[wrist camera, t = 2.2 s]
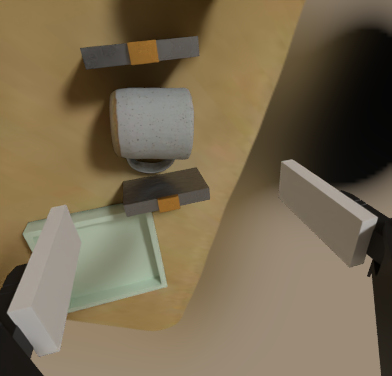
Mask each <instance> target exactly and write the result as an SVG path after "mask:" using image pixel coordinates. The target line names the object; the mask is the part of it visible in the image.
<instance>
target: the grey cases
mask: <svg viewBox="0 0 392 376" xmlns="http://www.w3.org/2000/svg"><path fill="white" fill-rule="evenodd" d="M80 49H81V53H82V57H83V60H84V64H85V67H86V69H94V68H103V67H111V66H120V65H128V64H131V65H137V64H146V63H154V62H159V61H162V60H171V59H179V58H188V57H196V56H199V44H198V36H192V37H182V38H172V39H162V40H148V41H138V42H129V43H124V44H114V45H105V46H95V47H86V48H80ZM209 199H210V193H209V187H208V185H207V184H206V182H205V180H204V179H203V177H202V175H201V174H200V172H199V171H198V169H197V168H191V169H186V170H181V171H176V172H170V173H165V174H160V175H155V176H150V177H144V178H139V179H134V180H129V181H123V204H124V209H125V213H126V216H127V217H130V216H134V215H139V214H144V213H148V212H153V211H158V210H159V211H160V213H162V212H166V211H171V210H175V209H180V206H181V205H186V204H190V203H195V202H200V201H204V200H209Z"/></svg>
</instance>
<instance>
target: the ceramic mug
mask: <svg viewBox="0 0 392 376" xmlns="http://www.w3.org/2000/svg"><path fill="white" fill-rule="evenodd" d="M110 125H111V136H112V143H113V148H114V152H115V153H116V154H117V155H118V156H120V157H124V158H126V159H127V162H128V163H129V165H130V166H131V167H132V168H133V169H135V170H137V171H139V172H144V173H158V172H162V171H164V170H166V169H167V168H169V167H170V166H171V165H172V164H173V162H174V160H175V159H182V160H183V159H188V158H189V156H190V154H191V150H192V145H193V136H194V133H193V132H194V110H193V104H192V97H191V94H190V92H189V90H188V89H186V88H123V89H117V90H114V91H113V92H112V94H111V95H110ZM135 159H165V160H163V161H162V162H158V163H147V162H138V161H137V160H135Z"/></svg>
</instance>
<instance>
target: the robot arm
mask: <svg viewBox="0 0 392 376" xmlns="http://www.w3.org/2000/svg"><path fill="white" fill-rule="evenodd" d="M280 173H281V174H280V186H279V199H280V200H281V201H282V202H283V203H284V204H285V205H286V206H287V207H288V208H289V209H291V211H292V212H293V213H295V215H297V216H298V217H299V218H300V219H301V220H302V221H303V222H304V223H305V224H306V225H307V226H308V227H309V228H310V229H311V230H312V231H313V232H314V233H315V234H316V235H317V236H318V237H319V238H320V239H321V240H322V241H323V242H324V243H325V244H326V245H327V246H328V247H329V248H330V249H331V250H332V251H333V252H334V253H336V255H337V256H338V257H340V258H341V259H342V261H344V262H345V263H346V264H347V265H348V266H349V267H353V266H357V265H360V264H363V263H364V260H365V257H366V254H367V255H369V256H370V257H371V258H372V259H373V260H372V263H371V266H370V269H369V272H368V275H367V276H368V277H370V275H371V274H372V280H373V281H372V282H373V291H374V303H375V314H376V324H377V335H378V346H379V357H380V366H381V367H380V368H381V376H392V218H388V217H387V216H385V215H383V214H382V213H380V212H379V211H377V210H376V209H374V208H373V207H371V206H370V205H368V204H366V203H365V202H363V201H362V200H360V199H359V198H357V197H356V196H354V195H353V194H350V193H348V192H345V191H342V190H341V191H338V190H337V189H335V188H334V187H332V186H331V185H329V184H328V183H326V182H325V181H323V180H322V179H320V178H319V177H318V176H316V175H314V174H313V173H312V172H310V171H309V170H307V169H306V168H304V167H303V166H301V165H299V164H298V163H297V162H295V161H294V160H287V161H282V162H281V172H280ZM80 247H81V240H80V238H79V235H78V233H77V230H76V228H75V225H74V223H73V221H72V218H71V216H70V213H69V211H68V208H67V206H66V205H63V206H58V207H53V208H51V210H50V212H49V215H48V217H47V220H46V222H45V224H44V227H43V229H42V231H41V234H40V236H39V238H38V241H37V243H36V245H35V248H34V250H33V252H32V255H31V257H30V260H29V262H28V264H23V265H19V266H16V267H15V268H14V269H13V270H12V271H11V273H10V274H9V275H8V276H7V278H6V280H5V282H4V284H3V288H1V290H0V376H43V374H42V373H41V372H40V371H39V369H38V368H37V367H36V366H35V364H34V363H33V362H32V361H31V359H30V358H31V355H32V351H33V349H34V351H35V352H36V354H37V355H38V356H39V357H41V356H44V355H48V354H51V353H55V352H58V351H60V347H61V342H62V337H63V332H64V327H65V322H66V317H67V312H68V307H69V302H70V297H71V292H72V287H73V282H74V277H75V272H76V267H77V262H78V257H79V252H80Z"/></svg>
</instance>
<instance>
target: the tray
mask: <svg viewBox="0 0 392 376" xmlns="http://www.w3.org/2000/svg"><path fill="white" fill-rule="evenodd" d="M70 216H71V218H72V221H73V223H74V225H75V228H76V230H77V233H78V235H79V238H80V240H81V247H80V252H79V257H78V262H77V267H76V272H75V277H74V282H73V287H72V292H71V297H70V302H69V307H68V312H67V313H70V312H74V311H78V310H82V309H85V308H89V307H93V306H97V305H100V304H104V303H108V302H112V301H115V300H119V299H123V298H127V297H130V296H134V295H138V294H142V293H145V292H149V291H153V290H157V289H161V288H164V287H167V282H166V277H165V272H164V267H163V262H162V258H161V253H160V248H159V244H158V239H157V234H156V230H155V225H154V220H153V216H152V212H148V213H144V214H139V215H134V216H130V217H127V216H126V213H125V209H124V204H123V203H121V204H116V205H111V206H106V207H101V208H96V209H91V210H87V211H82V212H77V213H72V214H70ZM46 220H47V219H43V220H38V221H33V222H28V224H27V226H26V228H25V230H24V232H23V236H24V238H25V239H26V241H27V243H28V245H29V247H30V249H31V251H32V252H33V250H34V248H35V245H36V243H37V241H38V238H39V236H40V234H41V231H42V229H43V227H44V224H45V222H46Z"/></svg>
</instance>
